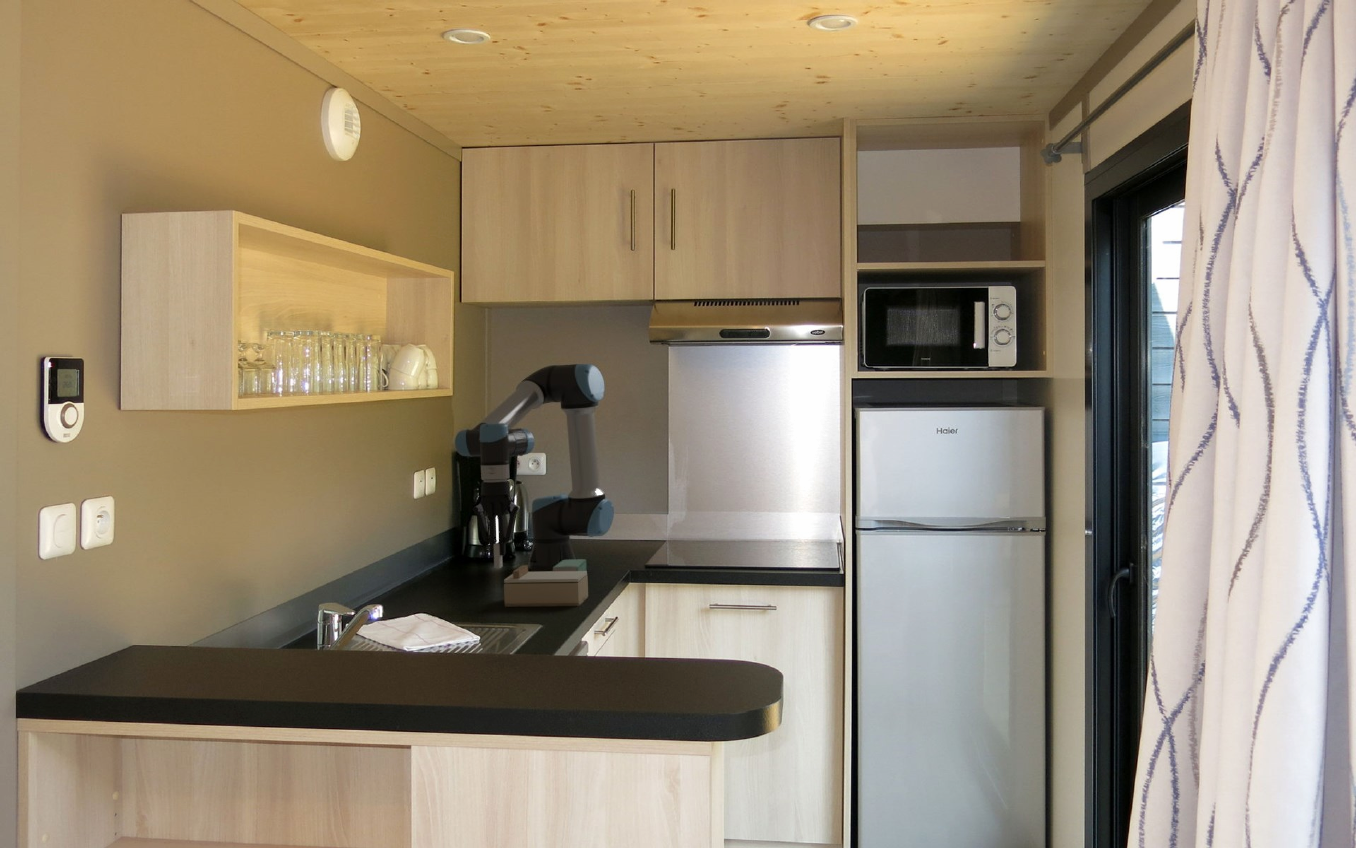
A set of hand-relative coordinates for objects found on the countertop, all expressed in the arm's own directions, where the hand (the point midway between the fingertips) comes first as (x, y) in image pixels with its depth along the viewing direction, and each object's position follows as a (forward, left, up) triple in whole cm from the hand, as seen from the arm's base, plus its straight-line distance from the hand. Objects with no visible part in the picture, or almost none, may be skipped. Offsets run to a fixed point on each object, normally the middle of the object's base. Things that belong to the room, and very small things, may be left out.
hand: (498, 567), depth 275 cm
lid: (0, +13, -3) cm, 13 cm away
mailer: (0, +13, -9) cm, 16 cm away
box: (-19, +15, -10) cm, 26 cm away
